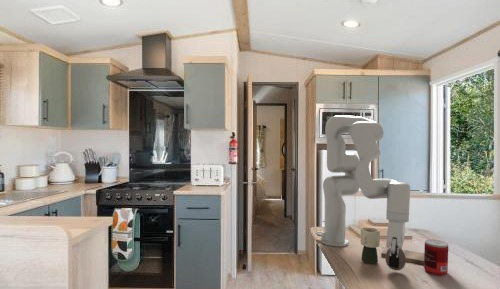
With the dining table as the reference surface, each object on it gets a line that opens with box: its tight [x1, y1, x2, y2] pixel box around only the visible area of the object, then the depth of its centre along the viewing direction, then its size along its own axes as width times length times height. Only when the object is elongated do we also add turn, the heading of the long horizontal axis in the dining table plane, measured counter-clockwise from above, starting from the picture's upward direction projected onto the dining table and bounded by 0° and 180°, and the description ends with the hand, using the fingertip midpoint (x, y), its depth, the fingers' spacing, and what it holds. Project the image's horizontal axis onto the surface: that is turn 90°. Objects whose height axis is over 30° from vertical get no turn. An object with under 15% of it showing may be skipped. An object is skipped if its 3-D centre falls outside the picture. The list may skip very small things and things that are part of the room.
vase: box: [384, 247, 407, 271], centre depth 120 cm, size 7×7×9 cm
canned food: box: [423, 238, 449, 277], centre depth 121 cm, size 8×8×11 cm
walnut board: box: [380, 246, 424, 266], centre depth 136 cm, size 16×10×2 cm, turn 58°
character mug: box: [359, 226, 381, 264], centre depth 130 cm, size 11×7×13 cm, turn 133°
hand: (395, 263), depth 120 cm, fingers closed on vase, 6 cm apart
